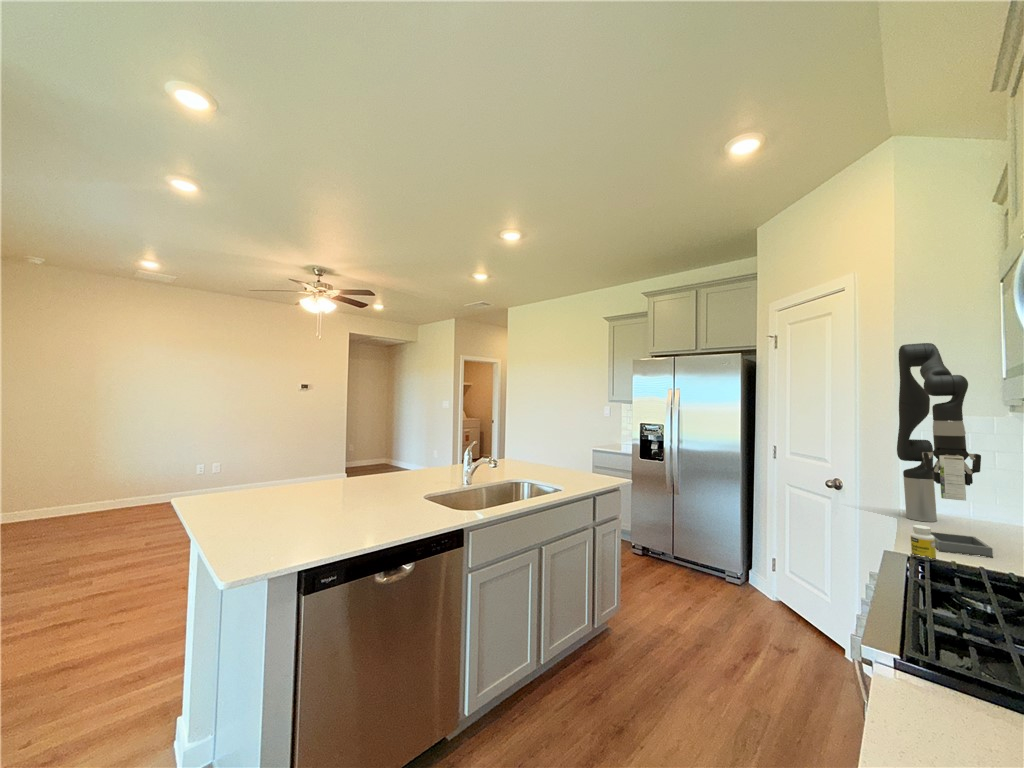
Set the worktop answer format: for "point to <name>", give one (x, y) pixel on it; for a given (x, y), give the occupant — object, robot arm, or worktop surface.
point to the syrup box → (952, 477)
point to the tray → (961, 544)
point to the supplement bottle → (923, 542)
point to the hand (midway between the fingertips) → (952, 484)
